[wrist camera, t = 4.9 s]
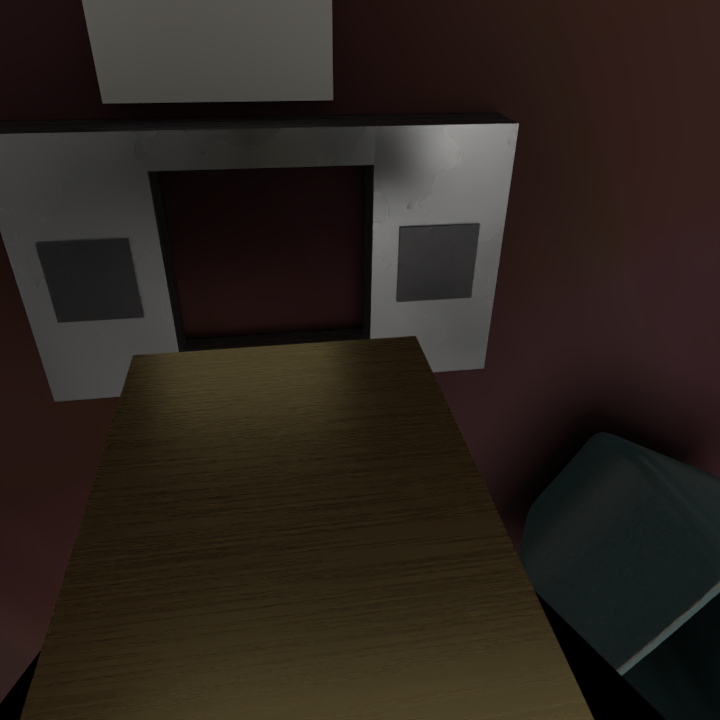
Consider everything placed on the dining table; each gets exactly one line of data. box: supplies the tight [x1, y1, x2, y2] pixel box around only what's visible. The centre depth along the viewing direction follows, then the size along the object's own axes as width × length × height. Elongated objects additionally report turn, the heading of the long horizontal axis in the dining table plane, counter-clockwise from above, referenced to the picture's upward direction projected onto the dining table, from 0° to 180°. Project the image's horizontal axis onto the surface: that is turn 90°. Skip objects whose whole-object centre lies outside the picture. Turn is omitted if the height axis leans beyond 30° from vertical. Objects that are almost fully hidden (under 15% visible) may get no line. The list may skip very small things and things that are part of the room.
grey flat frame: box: [0, 113, 519, 402], centre depth 18 cm, size 14×8×2 cm, turn 89°
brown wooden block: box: [20, 336, 594, 720], centre depth 8 cm, size 4×4×7 cm
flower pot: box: [519, 432, 720, 720], centre depth 24 cm, size 9×9×9 cm
